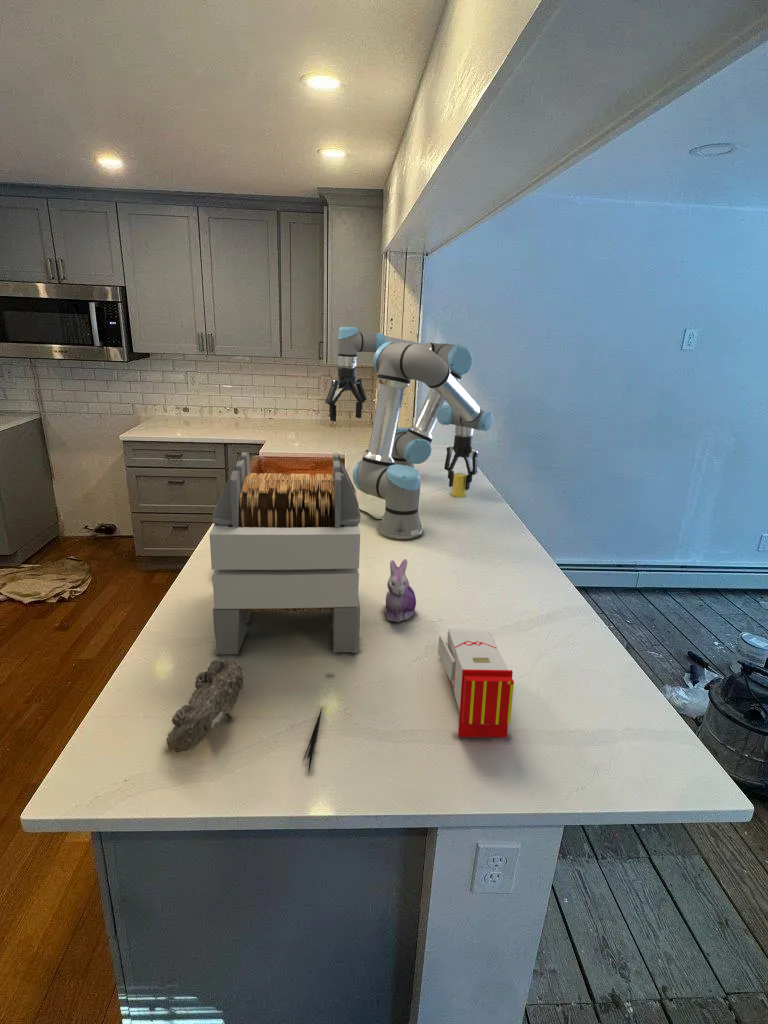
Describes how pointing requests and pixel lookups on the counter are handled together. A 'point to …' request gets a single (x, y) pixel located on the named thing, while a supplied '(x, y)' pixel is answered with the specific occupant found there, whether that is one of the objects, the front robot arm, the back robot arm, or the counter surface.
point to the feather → (313, 740)
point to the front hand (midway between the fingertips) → (458, 487)
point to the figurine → (399, 594)
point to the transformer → (285, 551)
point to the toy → (478, 682)
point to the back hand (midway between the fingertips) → (346, 419)
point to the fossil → (206, 705)
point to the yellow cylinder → (459, 485)
